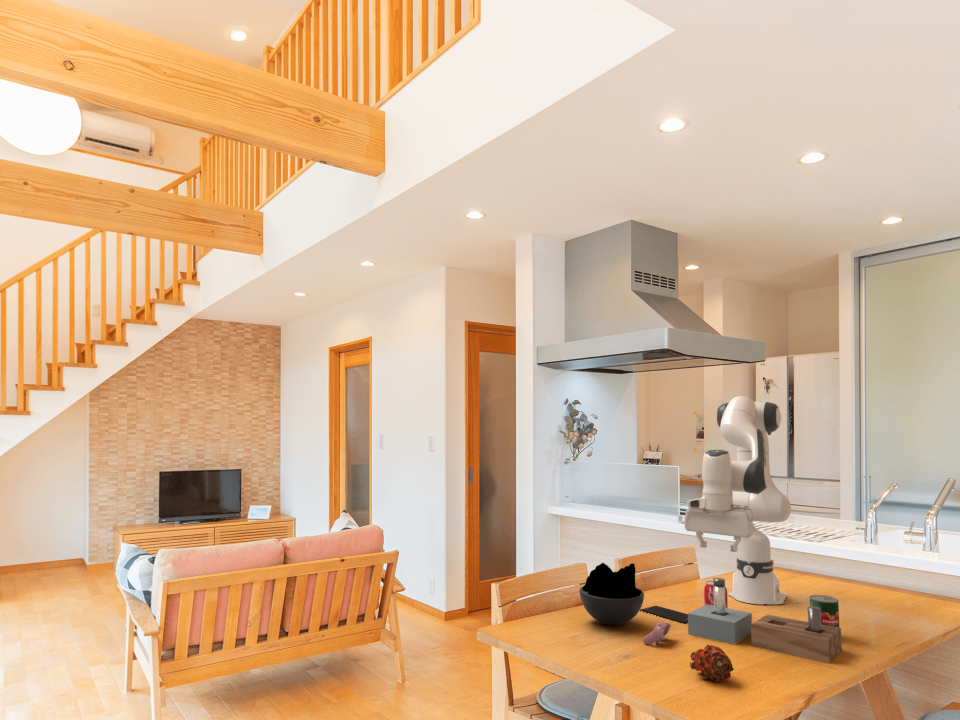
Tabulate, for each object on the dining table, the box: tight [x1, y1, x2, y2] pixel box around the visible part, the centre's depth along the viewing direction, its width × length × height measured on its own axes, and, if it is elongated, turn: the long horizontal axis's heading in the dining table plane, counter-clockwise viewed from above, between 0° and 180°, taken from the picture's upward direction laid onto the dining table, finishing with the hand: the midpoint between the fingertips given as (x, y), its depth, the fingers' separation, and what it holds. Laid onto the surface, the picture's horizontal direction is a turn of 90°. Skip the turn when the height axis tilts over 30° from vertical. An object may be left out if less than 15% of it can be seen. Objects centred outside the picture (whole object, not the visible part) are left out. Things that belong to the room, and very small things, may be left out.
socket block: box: [687, 604, 753, 645], centre depth 201 cm, size 14×14×6 cm
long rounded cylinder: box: [712, 577, 726, 616], centre depth 202 cm, size 3×3×16 cm
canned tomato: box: [808, 594, 840, 628], centre depth 201 cm, size 8×8×11 cm
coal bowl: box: [579, 562, 645, 626], centre depth 210 cm, size 20×20×19 cm
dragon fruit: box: [689, 644, 735, 683], centre depth 166 cm, size 8×8×12 cm
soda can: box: [703, 580, 729, 609], centre depth 214 cm, size 7×7×12 cm
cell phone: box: [639, 605, 688, 625], centre depth 220 cm, size 9×18×1 cm, turn 37°
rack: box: [750, 614, 843, 664], centre depth 189 cm, size 14×20×6 cm
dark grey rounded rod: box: [807, 605, 821, 633], centre depth 186 cm, size 3×3×12 cm
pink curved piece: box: [642, 620, 672, 646], centre depth 193 cm, size 10×5×7 cm, turn 148°
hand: (718, 549), depth 203 cm, fingers open, 8 cm apart
